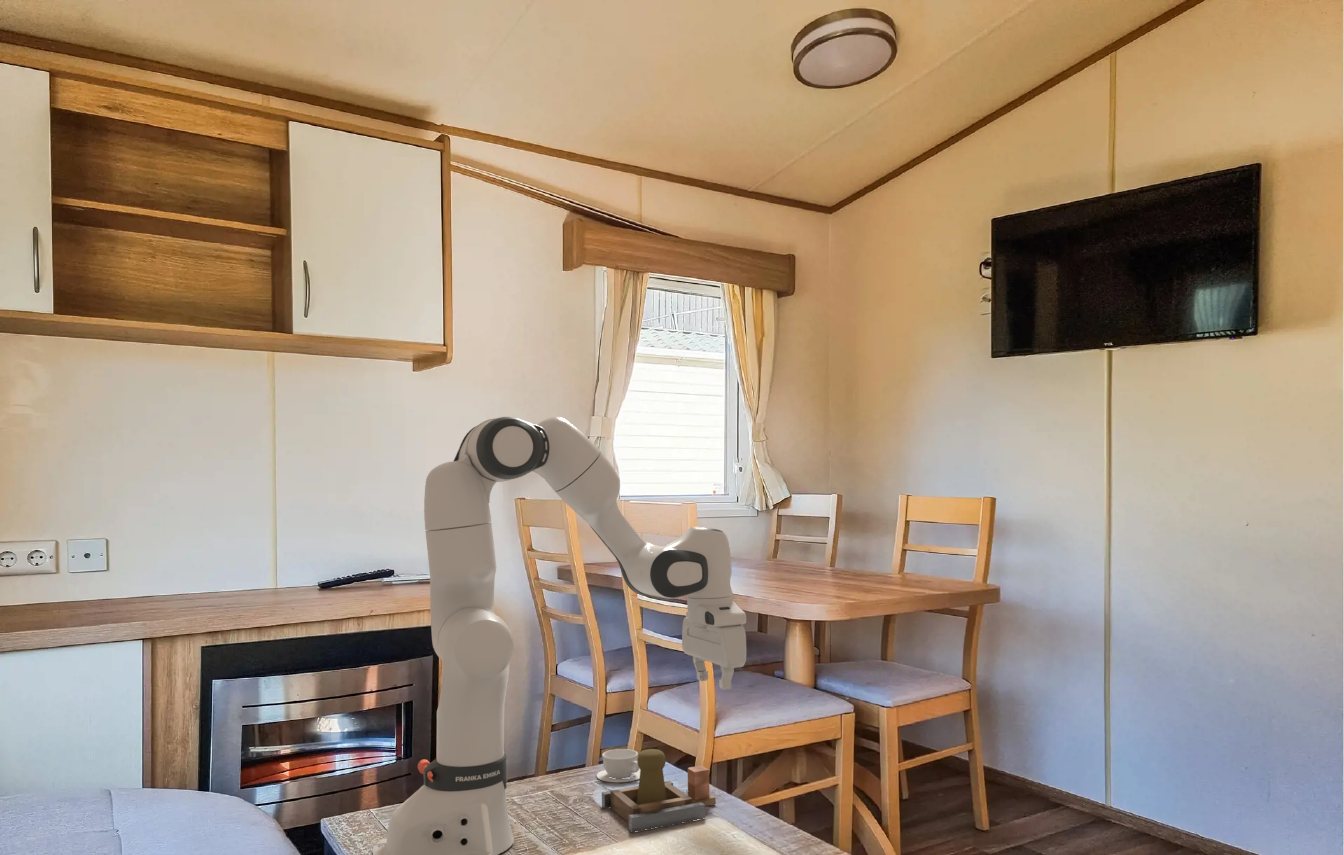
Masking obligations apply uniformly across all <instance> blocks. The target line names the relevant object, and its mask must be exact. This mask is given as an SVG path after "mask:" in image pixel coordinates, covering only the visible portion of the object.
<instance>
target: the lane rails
mask: <svg viewBox="0 0 1344 855" xmlns="http://www.w3.org/2000/svg"><path fill="white" fill-rule="evenodd" d="M667 782H669V783H670V784H672V785H673V786H674V783H673V782H672V781H670V780H668V781H667ZM601 806H603V807H604V808H603V807H602V808H603V809H610V808H609V807H611V790H606V791H601ZM703 818H705V819H706V806H705V804H703V803H702V802H699V803H694V804H688V805H682V806H677V807H671V808H666V809H660V810H655V811H649V812H643V813H638V814H632V815H629V823H628V831H629V830H630V831H632V832H635V831H641V832H643V831H642V830H645V829H651V828H655V827H661V826H667V827H669V826H668V825H672V824H677V825H679V824H678V823H682V822H688V823H691V822H690V821H693V820H697V819H703ZM693 822H694V821H693ZM672 826H673V825H672ZM651 830H652V829H651ZM630 831H629V832H630ZM632 832H631V833H632ZM635 833H636V832H635Z"/></svg>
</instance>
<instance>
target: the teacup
mask: <svg viewBox="0 0 1344 855" xmlns="http://www.w3.org/2000/svg"><path fill="white" fill-rule="evenodd" d="M638 755H639V753H638V751H636V750H633V749H629V748H615V749H610V750H605V751H604V752H603V753H602V763H603V768H604V769H603V770H601V771H598V772H597V773H596V778H597V779H598V780H601V781H603V782H608V783H629V782H634V781H638V780H639V779H640V768H639V767H638V763H637V758H638ZM632 773H634V774H633V775H635V776H633V777H634V778H630V779H622V778H626V777H630V776H631V775H632ZM609 777H612V778H616V779H612V778H609ZM635 777H636V778H635Z"/></svg>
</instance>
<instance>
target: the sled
mask: <svg viewBox="0 0 1344 855" xmlns="http://www.w3.org/2000/svg"><path fill="white" fill-rule="evenodd" d="M664 783H665V790H666V797H667V800H664V801H658V802H652V803H647V804H641V805H637V797H638V788H639V785H636V786H630V787H624V788H619V789H614V790H610V791H611V808H610V809H612V810H613V811H614V812H615V813H617V814H618V815H619V817H621V818H622V819H624V820H625V822H627V823H628V824H629V815H632V814H638V813H643V812H649V811H655V810H660V809H666V808H671V807H677V806H682V805H688V804H694V803H699V802H702V803H703V804H705V807H708V806H713V805H716V802H717V801H716V800H717V799H716V796H714V795H712V794H711V793H710V769H709V768H707V767H705V766H703V765H697V766H690V767H687V794H686V793H685V792H683V791H681V789H679V788H677V787H676V786H674V784H673V785H672V784H670V783H669V782H667V781H664Z"/></svg>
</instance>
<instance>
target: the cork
mask: <svg viewBox="0 0 1344 855" xmlns="http://www.w3.org/2000/svg"><path fill="white" fill-rule="evenodd" d="M637 763H638V767H639V770H640V779H638V781H639V782H638V786H639V788H638V797H637V805H641V804H647V803H652V802H658V801H664V800H667V797H666V790H665V783H664V782H665V778H664V776H665V775H664V767H665V766H666V755H665V753H664V752H663V750H661V749H656V748H649V749H643V750H642V751H640V752H639V753H638V758H637Z"/></svg>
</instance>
